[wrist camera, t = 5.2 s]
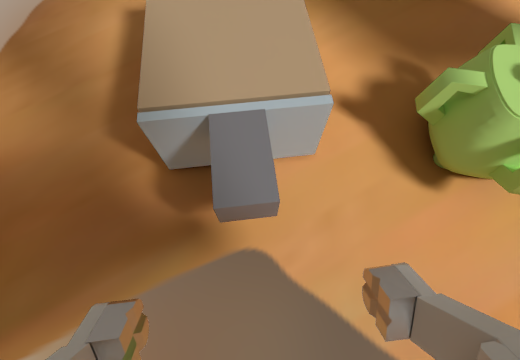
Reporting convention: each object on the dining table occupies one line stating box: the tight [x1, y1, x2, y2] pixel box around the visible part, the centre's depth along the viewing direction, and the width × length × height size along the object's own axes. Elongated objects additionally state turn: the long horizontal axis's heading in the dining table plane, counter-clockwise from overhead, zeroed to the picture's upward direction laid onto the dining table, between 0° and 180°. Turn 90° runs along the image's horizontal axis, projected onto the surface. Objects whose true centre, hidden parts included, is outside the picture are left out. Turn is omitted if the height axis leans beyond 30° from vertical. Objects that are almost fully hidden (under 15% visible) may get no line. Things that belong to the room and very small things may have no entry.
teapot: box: [415, 23, 520, 195], centre depth 23 cm, size 12×12×10 cm
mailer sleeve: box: [137, 0, 331, 113], centre depth 27 cm, size 18×14×8 cm
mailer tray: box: [137, 95, 334, 222], centre depth 25 cm, size 25×14×8 cm, turn 7°
